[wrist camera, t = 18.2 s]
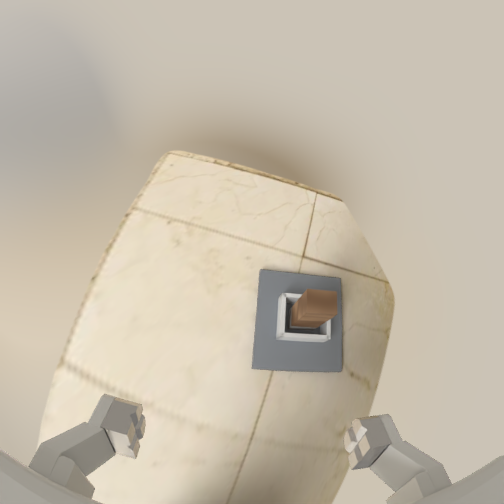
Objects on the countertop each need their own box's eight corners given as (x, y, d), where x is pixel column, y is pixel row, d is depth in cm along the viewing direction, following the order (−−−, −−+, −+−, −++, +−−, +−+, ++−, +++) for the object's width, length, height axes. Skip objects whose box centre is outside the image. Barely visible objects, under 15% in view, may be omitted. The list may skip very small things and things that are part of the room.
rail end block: (312, 330, 41) (337, 314, 32) (288, 328, 41) (306, 312, 32) (313, 312, 43) (336, 291, 34) (288, 310, 42) (307, 288, 33)
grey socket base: (338, 371, 39) (349, 370, 36) (251, 368, 38) (254, 367, 35) (338, 280, 47) (347, 271, 43) (259, 271, 46) (262, 261, 42)
